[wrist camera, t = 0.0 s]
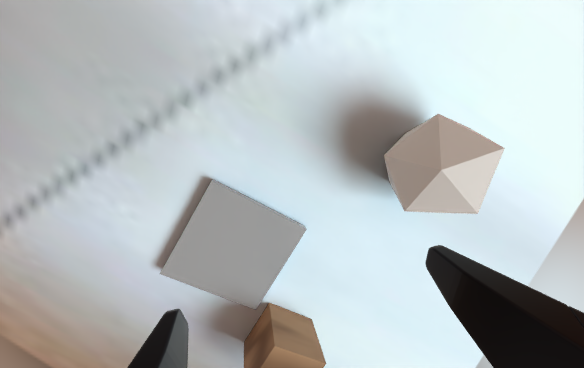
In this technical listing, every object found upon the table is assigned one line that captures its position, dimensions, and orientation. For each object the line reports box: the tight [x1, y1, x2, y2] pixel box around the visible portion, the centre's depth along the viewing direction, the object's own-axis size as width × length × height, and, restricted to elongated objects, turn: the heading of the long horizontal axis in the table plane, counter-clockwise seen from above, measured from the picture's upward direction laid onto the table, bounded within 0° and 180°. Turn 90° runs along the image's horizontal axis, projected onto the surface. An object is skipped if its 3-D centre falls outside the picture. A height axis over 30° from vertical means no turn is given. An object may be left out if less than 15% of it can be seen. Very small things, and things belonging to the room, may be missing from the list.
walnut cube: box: [244, 303, 326, 368], centre depth 26 cm, size 6×6×6 cm
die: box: [384, 114, 504, 214], centre depth 22 cm, size 8×9×10 cm
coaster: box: [160, 179, 307, 310], centre depth 24 cm, size 10×10×1 cm
